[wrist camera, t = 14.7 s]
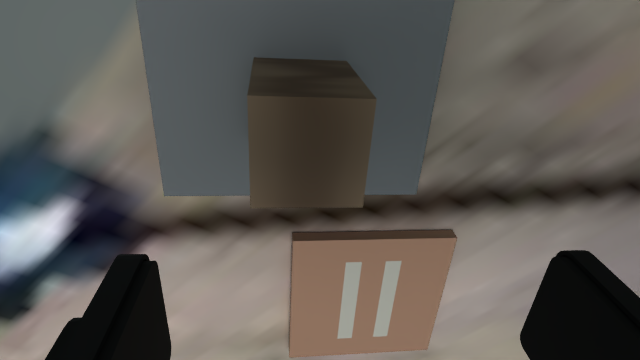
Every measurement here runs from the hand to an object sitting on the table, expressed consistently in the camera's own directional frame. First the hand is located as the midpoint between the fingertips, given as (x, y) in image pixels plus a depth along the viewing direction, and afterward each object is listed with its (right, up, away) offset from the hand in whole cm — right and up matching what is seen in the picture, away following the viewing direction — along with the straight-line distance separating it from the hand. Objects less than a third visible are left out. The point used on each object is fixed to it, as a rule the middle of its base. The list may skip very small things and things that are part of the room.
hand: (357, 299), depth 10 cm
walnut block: (-2, +7, +13) cm, 15 cm away
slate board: (-2, +8, +14) cm, 17 cm away
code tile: (+3, -6, +23) cm, 24 cm away
